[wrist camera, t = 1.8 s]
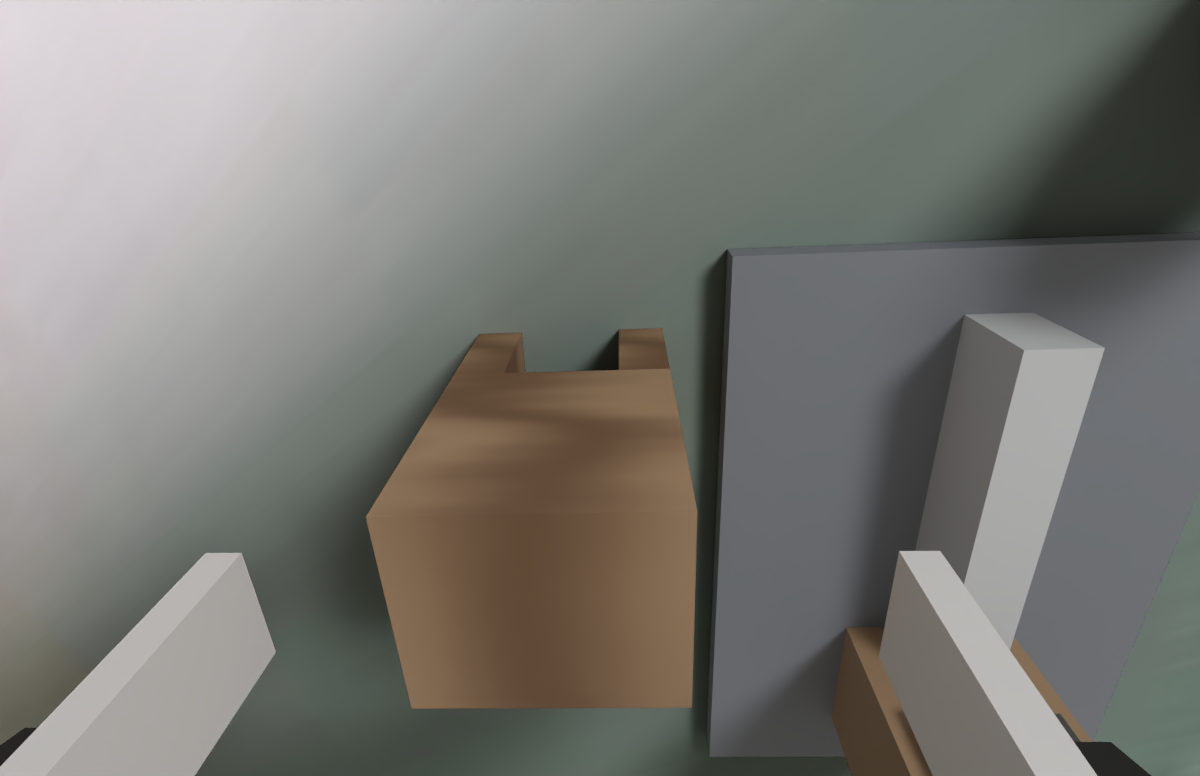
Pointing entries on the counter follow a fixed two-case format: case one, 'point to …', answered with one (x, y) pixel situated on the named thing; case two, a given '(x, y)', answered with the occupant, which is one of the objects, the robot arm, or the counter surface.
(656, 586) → the notched tan block
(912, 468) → the rail
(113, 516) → the counter surface
